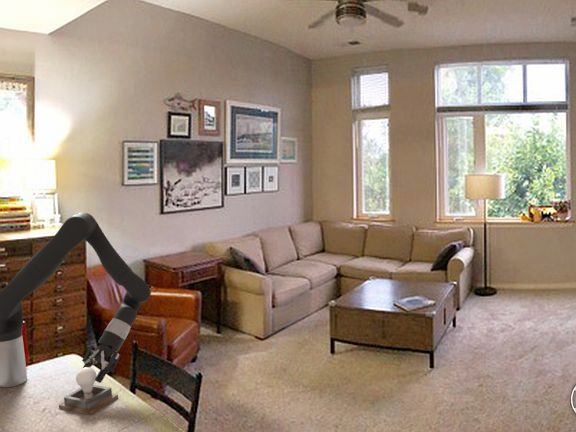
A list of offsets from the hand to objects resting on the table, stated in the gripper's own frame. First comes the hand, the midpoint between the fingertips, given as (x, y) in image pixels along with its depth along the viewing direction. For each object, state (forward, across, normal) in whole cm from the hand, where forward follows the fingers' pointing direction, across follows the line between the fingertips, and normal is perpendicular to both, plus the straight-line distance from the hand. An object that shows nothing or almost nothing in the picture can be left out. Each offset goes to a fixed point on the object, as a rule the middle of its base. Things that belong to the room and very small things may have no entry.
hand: (89, 379), depth 169 cm
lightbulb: (+6, 0, +4) cm, 7 cm away
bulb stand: (+6, 0, +5) cm, 8 cm away
